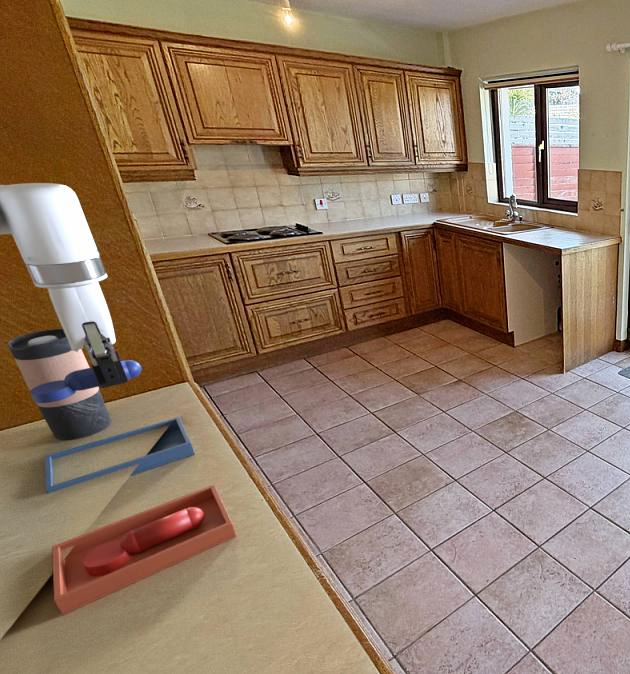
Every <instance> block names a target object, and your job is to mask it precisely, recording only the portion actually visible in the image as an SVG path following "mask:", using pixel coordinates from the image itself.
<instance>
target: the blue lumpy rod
mask: <svg viewBox="0 0 630 674" xmlns="http://www.w3.org/2000/svg"><path fill="white" fill-rule="evenodd" d="M121 364H122V366H123V369H124V371H125V374H126V376H127V379H128V381H129V380H131V379H135V378H137V377H138V376H139V375H140V374H141V373H142V366H141V364H140V363H139V362H137V361H136V360H133V359H132V360H131V359H123V360H121ZM95 387H100V385H99V382H98V380H97V378H96V375H95V373H94V371H93V368H92V366H91V367H90V368H87V369H82V370H77V371H73V372H71V373H69V374H68V375H67V376H66V377H65V379H64V380H59V381H53V382H48V383H45V384H42V385H39V386H37V387H35V388H33V389H32V390H31V391H30V390H29V394H30V396H31V398H32V399H33V401H34V403H35V404H36V403H49V402H55V401H59V400H62V399H65V398H67V397H70V396H72V395H73V394H74V393H75V392H76V391H81V390H86V389H90V388H95Z"/></svg>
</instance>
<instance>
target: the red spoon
mask: <svg viewBox="0 0 630 674" xmlns="http://www.w3.org/2000/svg"><path fill="white" fill-rule="evenodd" d="M203 520H204V513H203V511H202V510H201V509H199V508H197V507H189V508H186V509H183V510H181V511H178V512H176V513H173V514H171V515H168V516H166V517H163V518H161V519H158V520H156V521H153V522H151V523H148V524H146V525H143V526H141V527H138V528H136V529H133V530H131V531H129V532H128V533H126V534H125V535H124V536H123V538H122V540H118V541H112V542H109V543H106V544H104V545H101V546H99V547H97V548H96V549H94V550H93V551H91V552H90V553H89V554H88V555H87V556H86V557H85V558H84V560H83V566H84V568H85V570H86V572H87V573H88V574H89V575H91V576H101V575H105V574H108V573H111V572H113V571H115V570H117V569H119V568H121V567H122V566H124V565H125V564H126V563H127V562H128V561H129V560H130V559H131V558H132V556H133V553H139V552H142V551H144V550H146V549H149V548H151V547H153V546H156V545H158V544H160V543H163V542H165V541H167V540H170V539H172V538H174V537H177V536H179V535H181V534H184V533H186V532H188V531H191V530H193V529H195V528H197V527H198V526H200V525H201V523H202V522H203Z"/></svg>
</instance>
